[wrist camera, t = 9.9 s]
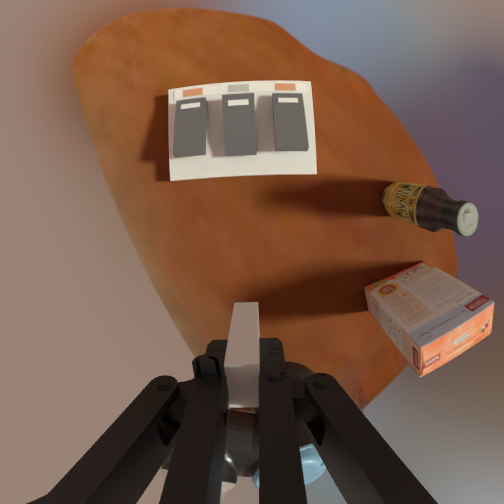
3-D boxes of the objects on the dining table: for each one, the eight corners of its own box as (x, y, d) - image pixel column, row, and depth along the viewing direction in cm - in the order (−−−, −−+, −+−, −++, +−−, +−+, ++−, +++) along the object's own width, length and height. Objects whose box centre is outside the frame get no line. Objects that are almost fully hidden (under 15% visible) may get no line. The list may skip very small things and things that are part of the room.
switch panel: (312, 174, 42) (318, 173, 38) (175, 180, 43) (167, 180, 39) (307, 87, 39) (312, 78, 34) (173, 95, 39) (166, 87, 35)
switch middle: (256, 153, 38) (256, 155, 37) (226, 155, 38) (225, 156, 37) (254, 93, 34) (254, 92, 33) (222, 95, 34) (221, 94, 33)
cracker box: (368, 313, 48) (419, 380, 28) (362, 285, 47) (419, 346, 26) (427, 287, 47) (492, 335, 26) (424, 259, 45) (496, 300, 25)
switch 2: (307, 151, 36) (309, 147, 34) (275, 151, 36) (276, 147, 35) (301, 98, 36) (302, 93, 35) (271, 98, 36) (272, 92, 35)
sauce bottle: (383, 177, 42) (456, 179, 23) (411, 187, 42) (488, 195, 23) (376, 214, 43) (445, 237, 24) (404, 222, 44) (478, 248, 24)
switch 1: (206, 154, 36) (204, 151, 35) (175, 157, 36) (172, 154, 35) (207, 101, 36) (205, 96, 35) (178, 105, 37) (176, 100, 35)
